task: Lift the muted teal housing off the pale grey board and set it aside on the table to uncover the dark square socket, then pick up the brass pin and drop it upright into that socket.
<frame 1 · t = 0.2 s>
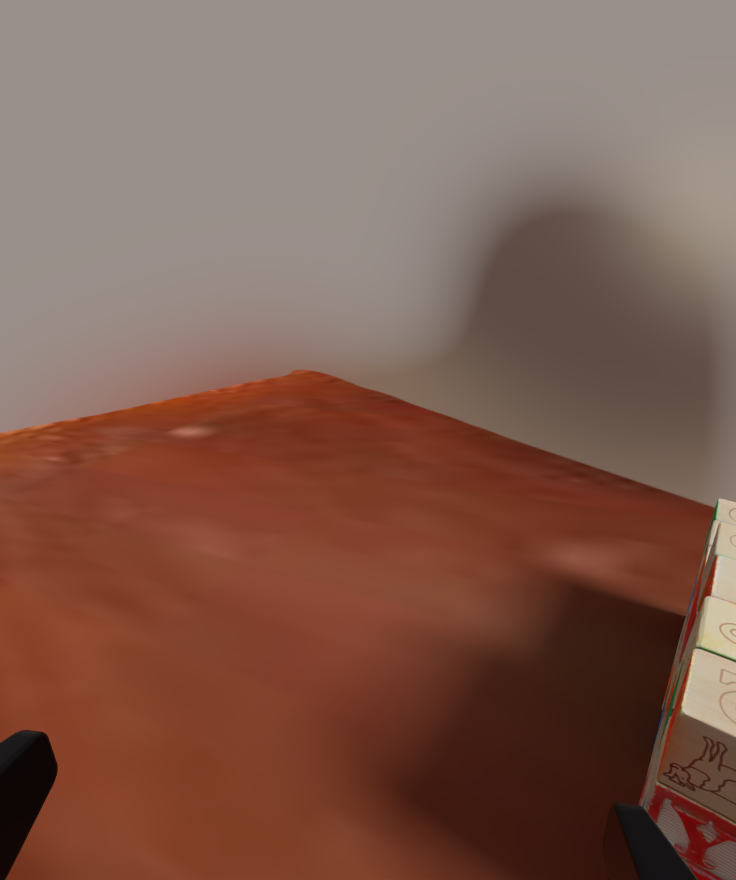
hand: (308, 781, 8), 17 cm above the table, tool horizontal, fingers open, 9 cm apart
stack of blocks: (721, 768, 26), on the table
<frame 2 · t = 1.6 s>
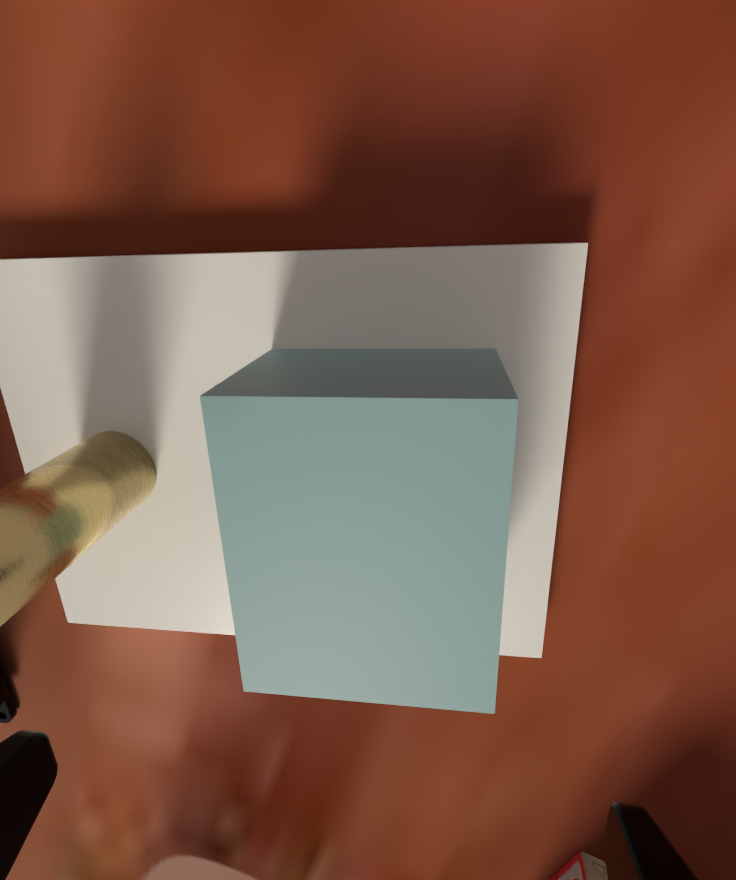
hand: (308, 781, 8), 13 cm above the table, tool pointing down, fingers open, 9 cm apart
housing: (383, 476, 18), point 1 cm above the table, touching board
pin: (118, 468, 20), point 1 cm above the table, touching board
board: (284, 457, 20), on the table
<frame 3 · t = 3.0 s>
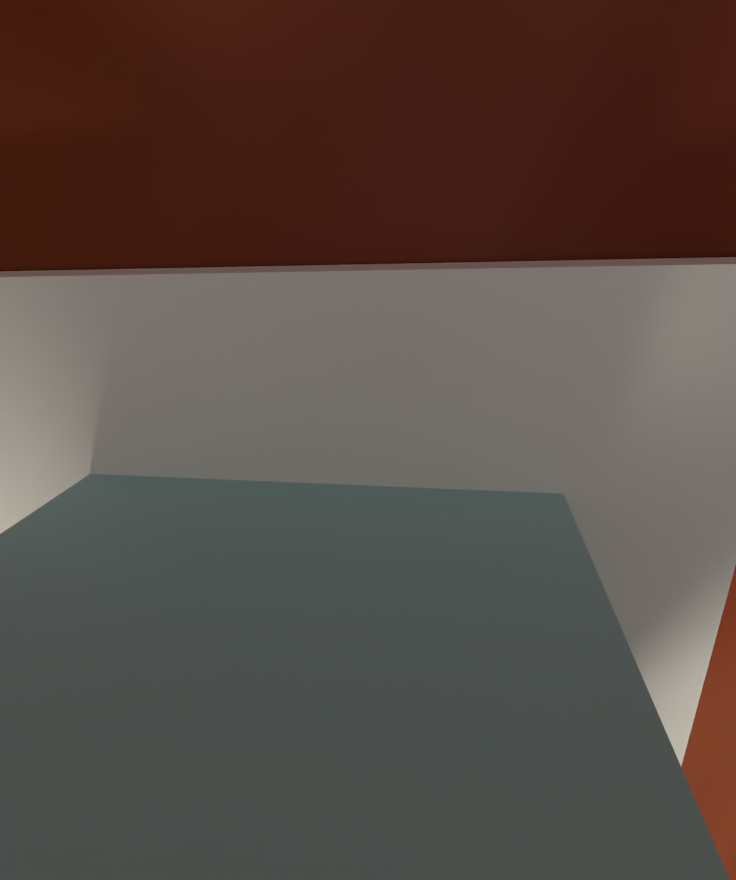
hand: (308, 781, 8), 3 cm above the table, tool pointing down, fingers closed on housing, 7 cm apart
housing: (327, 708, 9), point 1 cm above the table, touching board, gripper
board: (161, 632, 11), on the table
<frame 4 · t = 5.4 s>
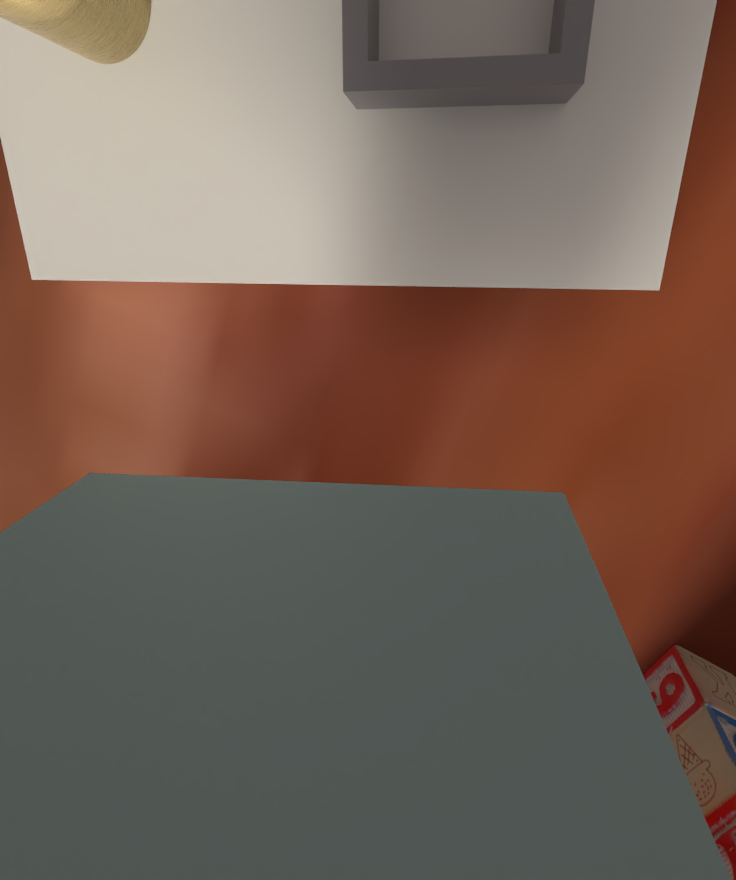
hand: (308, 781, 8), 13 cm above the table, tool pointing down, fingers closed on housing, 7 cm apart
housing: (327, 708, 9), point 11 cm above the table, touching gripper
board: (323, 8, 15), on the table
when the fingers open (3 cm above the table, at t = 8.1 s): housing drops 1 cm, on the table.
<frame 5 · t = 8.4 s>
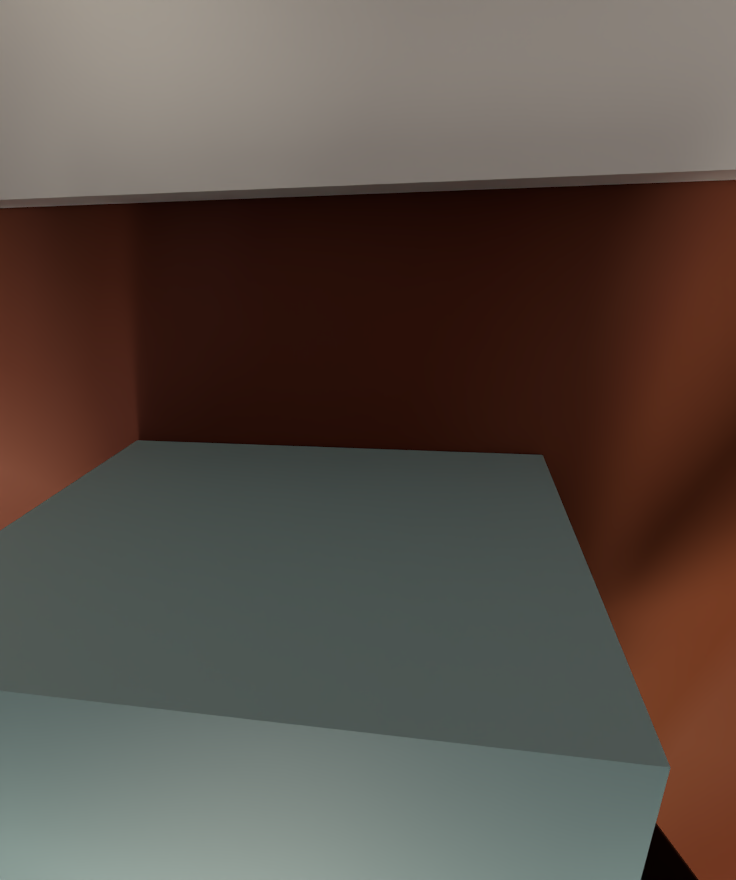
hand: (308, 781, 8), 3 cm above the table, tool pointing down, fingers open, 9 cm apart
housing: (339, 650, 11), on the table
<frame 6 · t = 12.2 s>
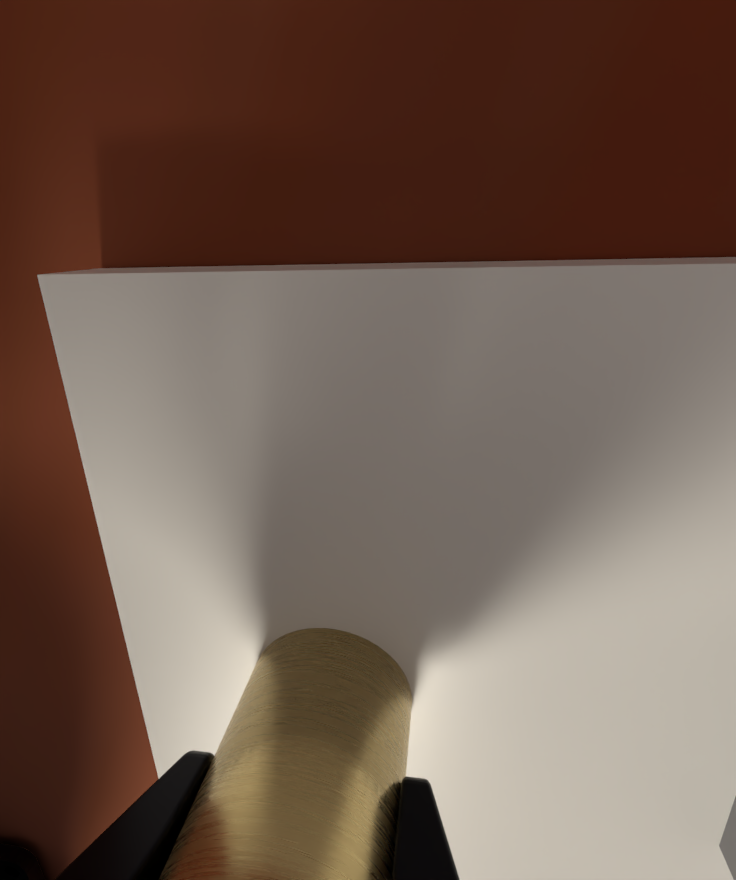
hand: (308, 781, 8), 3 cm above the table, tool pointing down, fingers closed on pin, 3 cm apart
pin: (331, 692, 10), point 2 cm above the table, touching board, gripper
board: (647, 661, 10), on the table
when the fingers open (6 cm above the table, at t = 16.4 s): pin drops 2 cm, resting on board.
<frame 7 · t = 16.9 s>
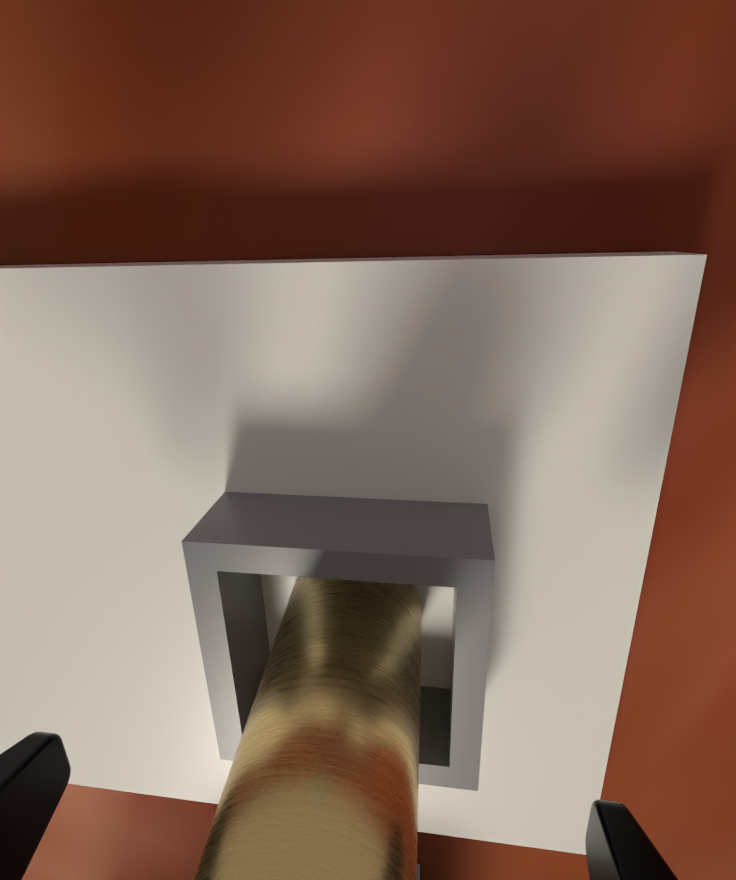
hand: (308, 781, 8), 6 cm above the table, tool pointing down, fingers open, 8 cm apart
pin: (355, 608, 12), point 2 cm above the table, touching board
board: (217, 558, 14), on the table
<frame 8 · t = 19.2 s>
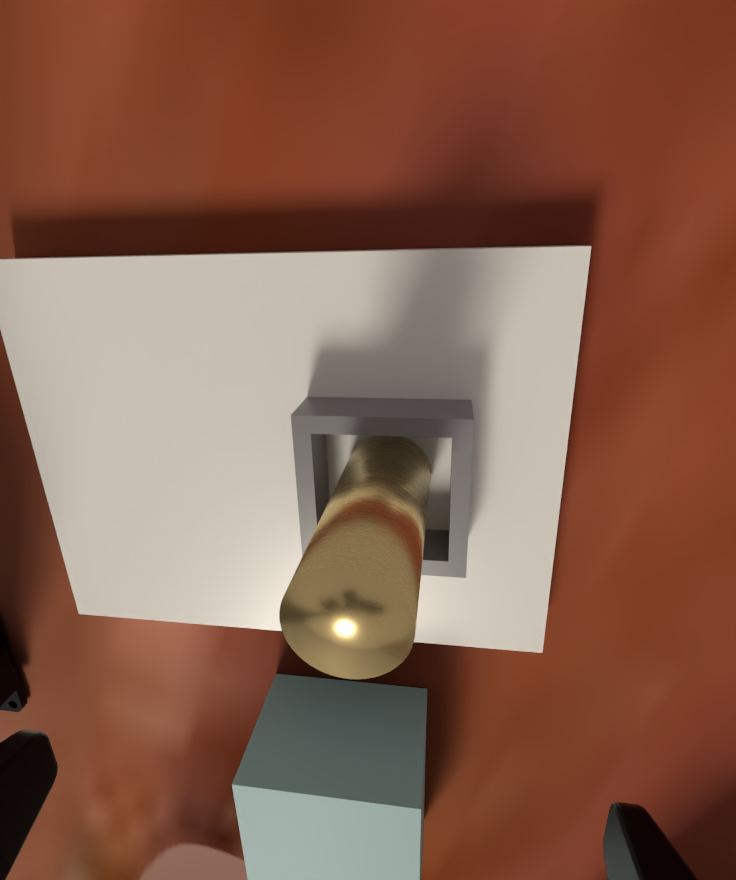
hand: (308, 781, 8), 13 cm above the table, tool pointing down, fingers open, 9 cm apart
housing: (353, 749, 26), on the table
pin: (388, 472, 19), point 2 cm above the table, touching board
board: (291, 453, 21), on the table
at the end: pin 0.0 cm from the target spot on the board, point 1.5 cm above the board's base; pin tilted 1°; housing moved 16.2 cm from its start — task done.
